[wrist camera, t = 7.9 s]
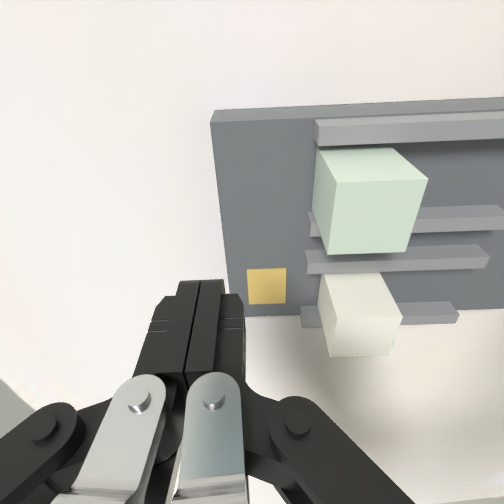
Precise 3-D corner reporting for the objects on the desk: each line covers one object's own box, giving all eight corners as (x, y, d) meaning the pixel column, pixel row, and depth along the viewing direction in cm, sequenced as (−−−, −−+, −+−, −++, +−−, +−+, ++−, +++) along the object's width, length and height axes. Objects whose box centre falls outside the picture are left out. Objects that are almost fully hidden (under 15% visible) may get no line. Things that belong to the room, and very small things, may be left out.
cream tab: (322, 267, 23) (337, 318, 19) (376, 265, 23) (402, 316, 19) (317, 304, 25) (330, 357, 21) (366, 303, 25) (388, 356, 21)
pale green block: (316, 146, 18) (336, 182, 13) (387, 143, 17) (428, 178, 13) (311, 208, 20) (327, 254, 16) (373, 205, 20) (404, 252, 16)
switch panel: (214, 110, 19) (207, 129, 16) (601, 92, 19) (685, 108, 15) (234, 292, 29) (231, 330, 25) (491, 284, 28) (527, 321, 25)
